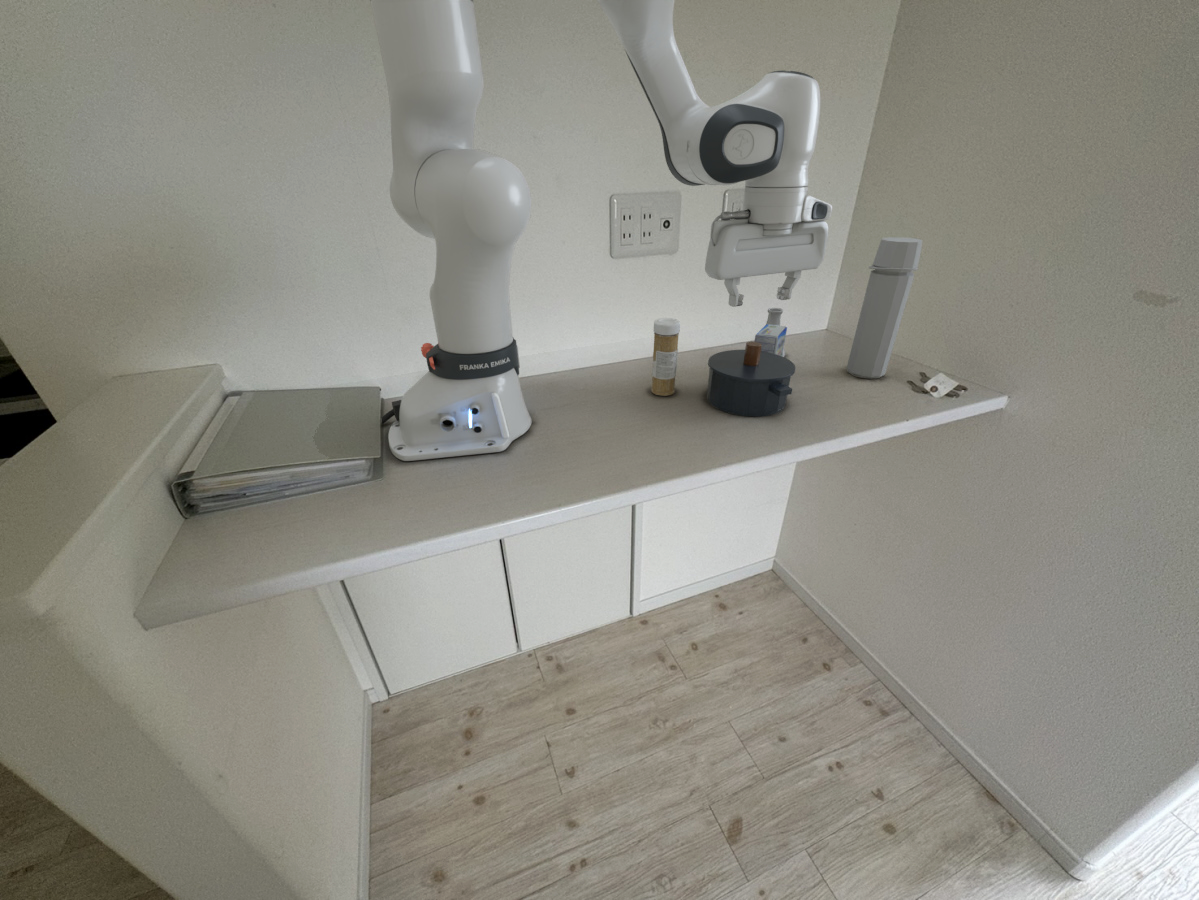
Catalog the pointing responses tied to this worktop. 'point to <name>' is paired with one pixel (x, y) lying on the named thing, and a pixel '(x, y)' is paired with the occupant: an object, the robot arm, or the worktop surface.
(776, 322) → the flask
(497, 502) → the worktop surface
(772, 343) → the medicine box
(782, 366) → the pan lid
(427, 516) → the worktop surface
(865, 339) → the water bottle
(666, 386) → the sprinkles bottle
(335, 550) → the worktop surface
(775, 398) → the pan
